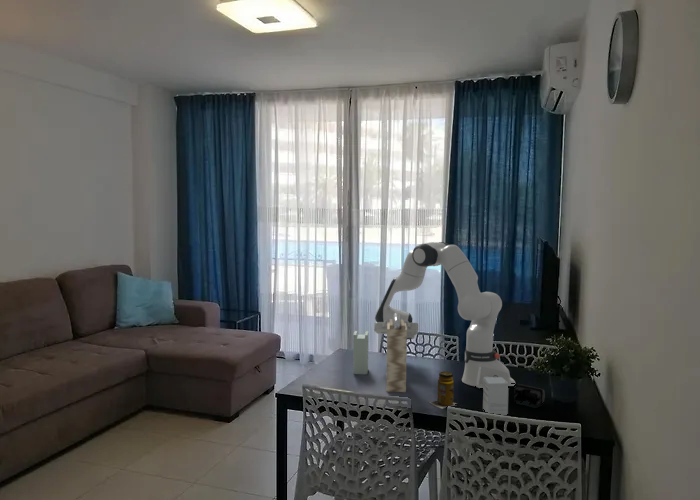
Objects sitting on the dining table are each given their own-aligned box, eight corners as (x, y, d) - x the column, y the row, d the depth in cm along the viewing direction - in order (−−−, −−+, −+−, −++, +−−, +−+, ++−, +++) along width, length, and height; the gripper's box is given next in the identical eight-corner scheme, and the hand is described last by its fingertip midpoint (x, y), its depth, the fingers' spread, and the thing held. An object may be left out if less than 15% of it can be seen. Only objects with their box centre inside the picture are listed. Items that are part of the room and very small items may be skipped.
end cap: (544, 404, 203) (545, 387, 202) (538, 409, 197) (539, 392, 197) (519, 398, 209) (519, 382, 208) (512, 403, 203) (513, 386, 203)
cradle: (368, 369, 247) (368, 331, 245) (367, 374, 239) (367, 335, 237) (354, 368, 247) (354, 330, 246) (353, 374, 239) (353, 334, 238)
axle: (392, 319, 234) (392, 312, 234) (399, 319, 234) (399, 312, 233) (393, 329, 214) (393, 322, 214) (400, 329, 214) (400, 322, 214)
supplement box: (501, 409, 197) (502, 376, 196) (508, 417, 190) (509, 383, 189) (482, 409, 197) (483, 376, 196) (487, 417, 189) (488, 383, 189)
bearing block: (405, 382, 227) (405, 319, 225) (405, 392, 215) (406, 325, 213) (386, 382, 228) (387, 319, 226) (386, 391, 216) (387, 325, 214)
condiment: (458, 404, 202) (458, 374, 201) (441, 409, 197) (442, 377, 196) (444, 399, 208) (445, 369, 207) (428, 403, 203) (429, 372, 202)
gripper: (374, 325, 251) (373, 315, 239) (417, 325, 249) (418, 316, 237) (374, 337, 248) (373, 328, 236) (417, 338, 247) (419, 329, 234)
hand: (396, 322), depth 236 cm, fingers open, 8 cm apart
